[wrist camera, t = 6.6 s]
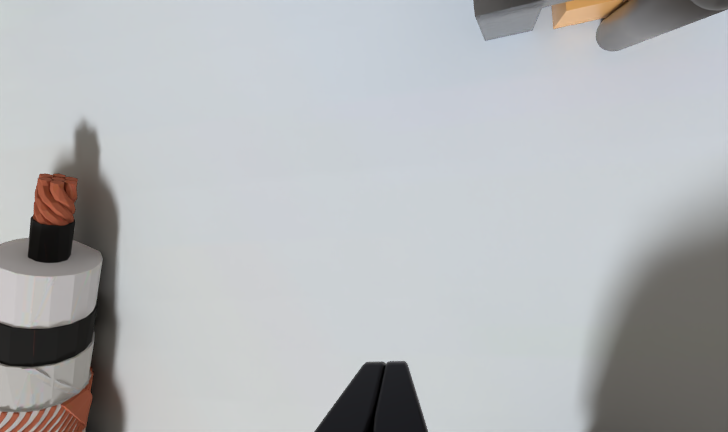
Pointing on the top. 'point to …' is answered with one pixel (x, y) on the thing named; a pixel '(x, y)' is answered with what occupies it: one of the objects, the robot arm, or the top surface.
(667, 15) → the plug
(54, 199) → the striped tapered cylinder
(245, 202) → the top surface
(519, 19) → the housing
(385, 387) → the robot arm
